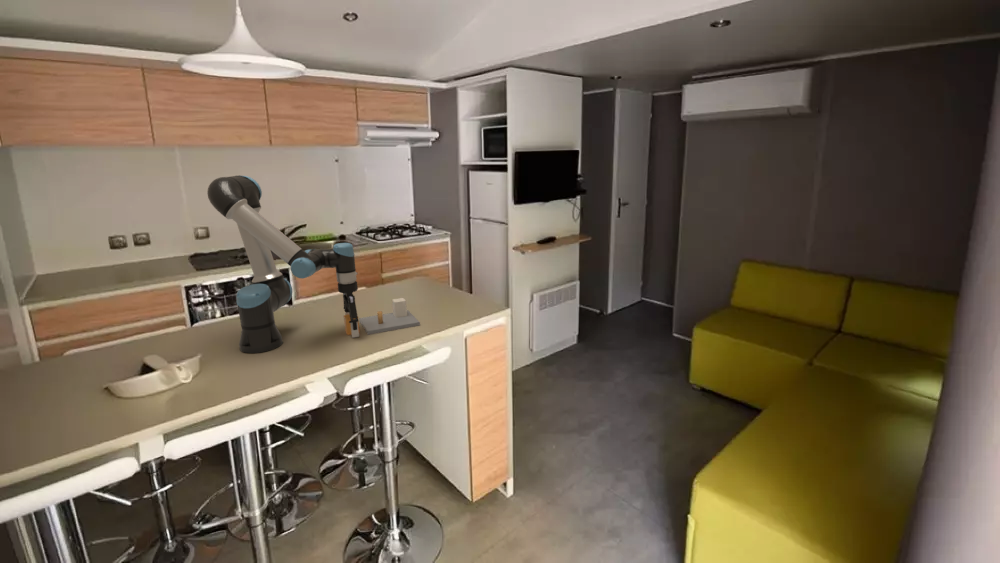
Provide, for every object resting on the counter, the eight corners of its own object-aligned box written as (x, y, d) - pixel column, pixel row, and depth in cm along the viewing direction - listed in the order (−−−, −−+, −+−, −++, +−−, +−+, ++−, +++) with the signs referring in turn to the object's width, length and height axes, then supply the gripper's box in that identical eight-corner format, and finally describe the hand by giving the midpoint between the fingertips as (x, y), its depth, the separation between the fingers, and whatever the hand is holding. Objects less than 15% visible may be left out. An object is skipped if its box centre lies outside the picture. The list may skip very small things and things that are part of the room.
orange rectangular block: (347, 335, 197) (345, 319, 195) (345, 331, 201) (343, 315, 199) (359, 333, 199) (358, 316, 197) (357, 329, 203) (355, 313, 201)
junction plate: (367, 334, 197) (365, 314, 195) (359, 321, 213) (357, 302, 210) (419, 325, 206) (418, 306, 204) (408, 313, 222) (406, 295, 220)
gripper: (362, 287, 185) (367, 339, 191) (351, 273, 207) (356, 321, 212) (342, 290, 182) (348, 343, 188) (333, 276, 203) (338, 324, 209)
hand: (352, 331), depth 200 cm, fingers open, 12 cm apart
